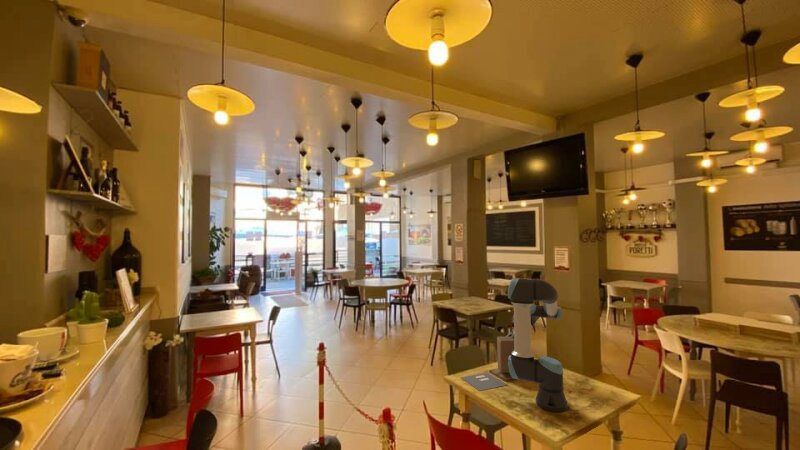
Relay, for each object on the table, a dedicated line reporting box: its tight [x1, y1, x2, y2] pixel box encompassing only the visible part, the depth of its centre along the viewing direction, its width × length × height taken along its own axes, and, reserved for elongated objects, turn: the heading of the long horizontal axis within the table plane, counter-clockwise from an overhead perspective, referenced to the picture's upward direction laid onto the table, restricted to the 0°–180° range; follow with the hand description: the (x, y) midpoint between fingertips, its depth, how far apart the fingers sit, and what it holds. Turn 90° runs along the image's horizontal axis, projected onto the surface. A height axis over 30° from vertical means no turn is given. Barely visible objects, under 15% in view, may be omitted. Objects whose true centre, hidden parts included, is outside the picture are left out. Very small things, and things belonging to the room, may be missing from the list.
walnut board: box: [489, 367, 519, 383], centre depth 214 cm, size 16×16×2 cm
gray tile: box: [460, 372, 508, 392], centre depth 205 cm, size 20×20×1 cm
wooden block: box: [496, 336, 514, 373], centre depth 214 cm, size 10×10×20 cm
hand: (505, 355), depth 214 cm, fingers closed on wooden block, 12 cm apart
